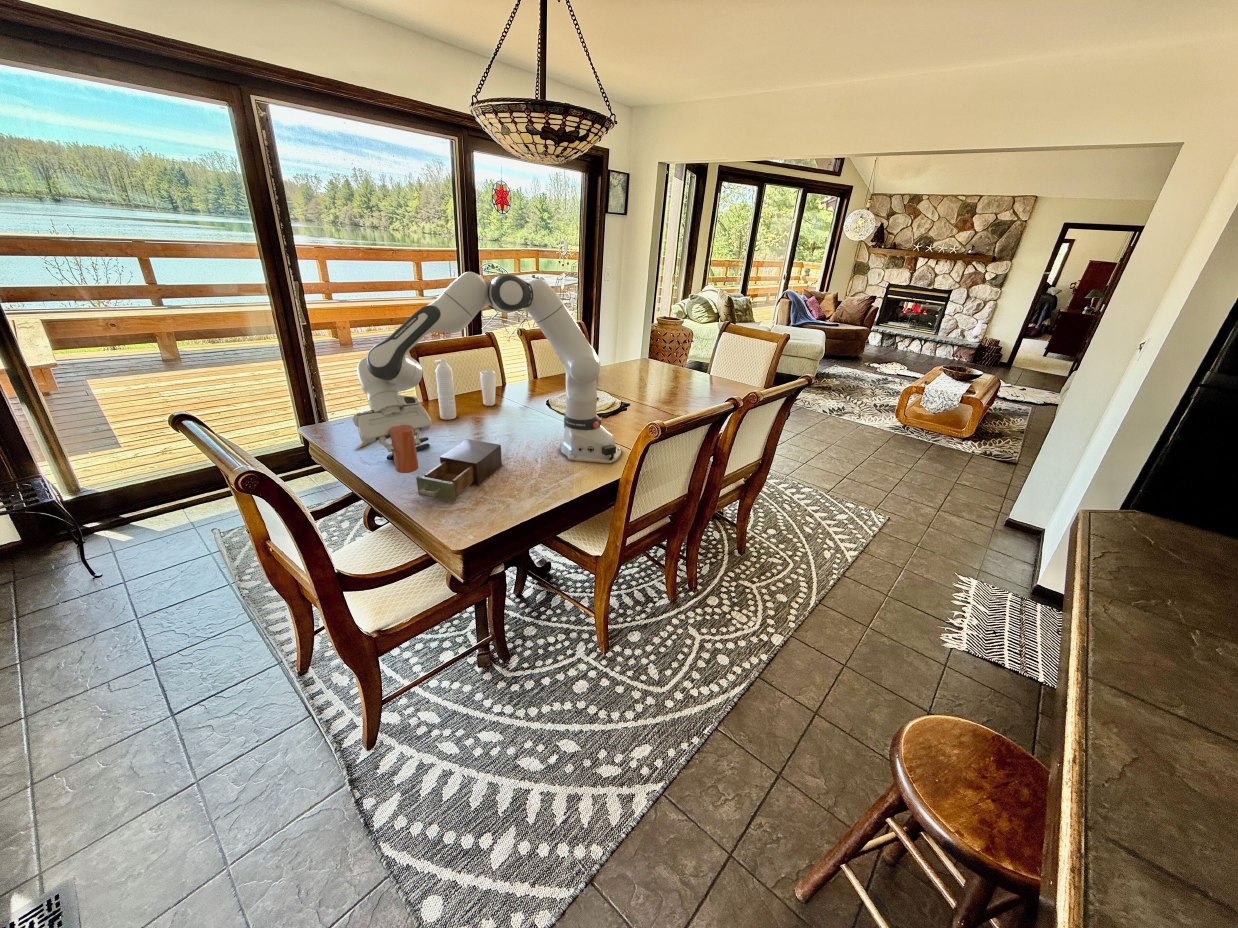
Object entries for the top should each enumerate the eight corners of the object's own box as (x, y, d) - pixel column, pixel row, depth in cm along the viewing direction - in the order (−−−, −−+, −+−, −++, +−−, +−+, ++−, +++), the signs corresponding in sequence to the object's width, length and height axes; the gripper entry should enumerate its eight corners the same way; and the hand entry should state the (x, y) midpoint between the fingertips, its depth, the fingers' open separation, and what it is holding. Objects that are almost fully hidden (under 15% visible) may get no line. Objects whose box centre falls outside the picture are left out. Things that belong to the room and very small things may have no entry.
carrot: (385, 430, 186) (379, 420, 184) (395, 428, 185) (388, 417, 183) (355, 456, 169) (348, 445, 167) (365, 453, 168) (358, 442, 166)
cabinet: (478, 485, 150) (476, 463, 147) (442, 479, 153) (439, 456, 150) (501, 465, 164) (500, 444, 161) (468, 459, 167) (466, 438, 163)
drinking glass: (485, 401, 223) (483, 369, 217) (499, 402, 222) (497, 371, 216) (479, 405, 217) (477, 373, 210) (493, 407, 216) (492, 374, 210)
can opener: (401, 466, 159) (399, 451, 156) (384, 462, 161) (382, 447, 158) (437, 447, 174) (435, 433, 171) (421, 444, 176) (420, 429, 174)
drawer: (445, 509, 135) (443, 490, 133) (409, 501, 137) (406, 483, 135) (479, 480, 152) (478, 463, 149) (446, 474, 154) (444, 457, 151)
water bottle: (444, 414, 205) (438, 355, 194) (459, 415, 204) (453, 357, 194) (435, 421, 197) (428, 360, 186) (450, 422, 197) (444, 362, 186)
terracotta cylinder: (422, 466, 148) (417, 426, 142) (409, 474, 142) (403, 434, 136) (404, 462, 149) (399, 423, 143) (390, 471, 143) (384, 430, 138)
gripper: (351, 408, 135) (369, 452, 133) (422, 396, 148) (440, 435, 146) (348, 419, 140) (366, 460, 138) (418, 406, 153) (435, 444, 151)
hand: (405, 447), depth 142 cm, fingers closed on terracotta cylinder, 6 cm apart
